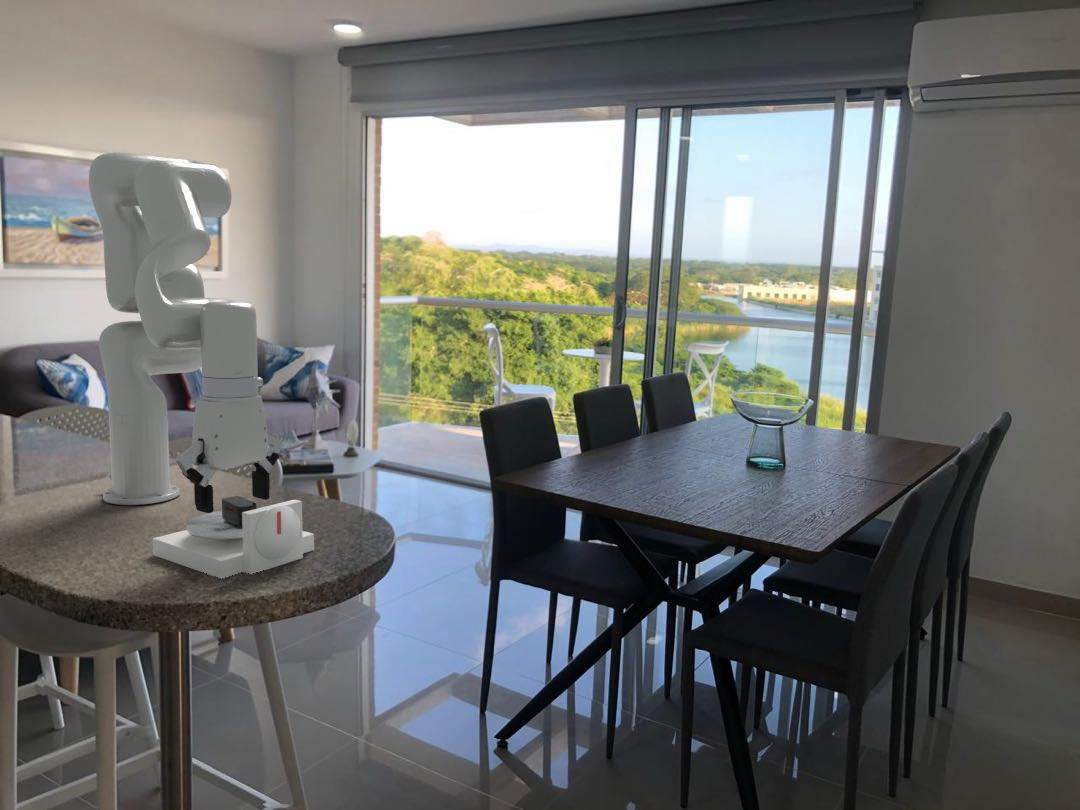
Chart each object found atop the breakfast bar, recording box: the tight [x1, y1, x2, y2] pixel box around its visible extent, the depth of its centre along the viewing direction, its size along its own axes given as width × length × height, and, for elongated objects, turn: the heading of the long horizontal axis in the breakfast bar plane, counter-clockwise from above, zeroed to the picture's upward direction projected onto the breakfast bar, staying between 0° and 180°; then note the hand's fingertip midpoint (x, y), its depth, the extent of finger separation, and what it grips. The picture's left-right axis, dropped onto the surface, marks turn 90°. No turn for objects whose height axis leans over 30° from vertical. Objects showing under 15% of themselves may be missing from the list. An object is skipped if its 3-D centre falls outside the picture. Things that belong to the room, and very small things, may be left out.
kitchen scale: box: [152, 499, 315, 580], centre depth 128 cm, size 18×16×9 cm
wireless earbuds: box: [221, 495, 258, 528], centre depth 127 cm, size 5×7×3 cm, turn 44°
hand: (233, 504), depth 128 cm, fingers open, 9 cm apart
